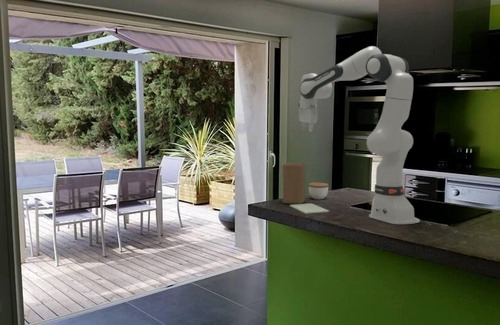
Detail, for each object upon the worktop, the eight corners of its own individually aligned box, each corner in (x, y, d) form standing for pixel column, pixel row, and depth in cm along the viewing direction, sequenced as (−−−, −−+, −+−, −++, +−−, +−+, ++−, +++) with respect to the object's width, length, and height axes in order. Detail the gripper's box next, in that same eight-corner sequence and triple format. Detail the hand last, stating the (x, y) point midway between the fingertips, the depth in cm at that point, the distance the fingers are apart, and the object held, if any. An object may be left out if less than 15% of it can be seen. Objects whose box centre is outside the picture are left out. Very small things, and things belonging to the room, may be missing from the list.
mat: (328, 211, 214) (328, 210, 213) (305, 213, 210) (305, 212, 210) (311, 204, 230) (311, 203, 230) (289, 206, 227) (289, 204, 227)
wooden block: (282, 203, 230) (281, 164, 229) (286, 200, 240) (286, 162, 239) (301, 204, 228) (301, 164, 226) (305, 201, 237) (305, 163, 236)
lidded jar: (332, 198, 247) (332, 181, 246) (319, 201, 240) (320, 183, 239) (316, 195, 255) (317, 179, 254) (304, 198, 248) (304, 180, 246)
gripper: (321, 105, 229) (319, 132, 231) (308, 104, 249) (307, 129, 251) (309, 105, 228) (308, 132, 230) (297, 104, 248) (296, 129, 250)
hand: (307, 131), depth 241 cm, fingers open, 8 cm apart
